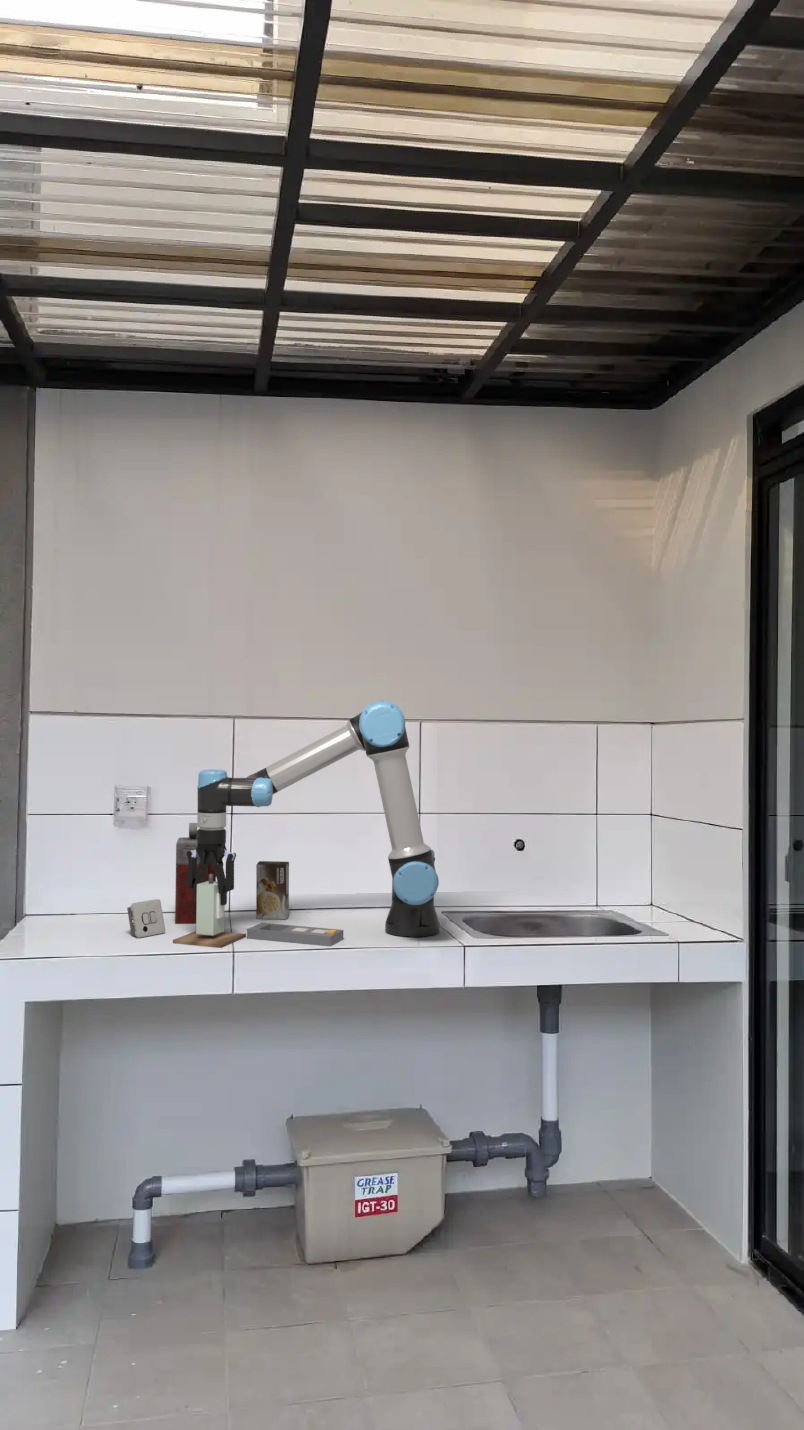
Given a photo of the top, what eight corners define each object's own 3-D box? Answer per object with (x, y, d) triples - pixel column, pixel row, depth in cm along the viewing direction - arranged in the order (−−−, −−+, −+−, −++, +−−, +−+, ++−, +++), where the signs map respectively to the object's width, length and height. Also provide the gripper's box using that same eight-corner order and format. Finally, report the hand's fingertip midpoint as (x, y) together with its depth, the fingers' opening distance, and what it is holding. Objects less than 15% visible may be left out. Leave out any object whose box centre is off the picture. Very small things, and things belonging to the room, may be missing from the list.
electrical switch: (137, 939, 288) (136, 903, 288) (125, 938, 291) (124, 903, 291) (166, 933, 295) (164, 899, 295) (154, 932, 298) (152, 898, 299)
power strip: (343, 939, 291) (343, 928, 291) (330, 946, 283) (330, 934, 283) (261, 931, 299) (261, 920, 299) (246, 938, 290) (247, 927, 290)
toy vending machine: (215, 923, 309) (216, 824, 309) (175, 923, 307) (176, 824, 307) (216, 917, 318) (217, 821, 318) (176, 917, 316) (178, 821, 316)
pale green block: (224, 931, 290) (224, 873, 289) (213, 935, 284) (213, 876, 284) (207, 929, 291) (208, 871, 291) (196, 933, 286) (196, 875, 285)
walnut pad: (246, 936, 292) (246, 933, 292) (221, 947, 279) (221, 944, 279) (199, 932, 296) (199, 929, 296) (172, 943, 283) (172, 939, 283)
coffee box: (289, 915, 322) (290, 861, 322) (286, 919, 316) (287, 864, 316) (258, 914, 323) (259, 860, 322) (255, 919, 316) (255, 863, 316)
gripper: (174, 828, 287) (172, 916, 287) (235, 831, 281) (234, 921, 281) (188, 825, 294) (187, 911, 294) (249, 828, 288) (247, 916, 288)
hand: (210, 916), depth 288 cm, fingers closed on pale green block, 5 cm apart
